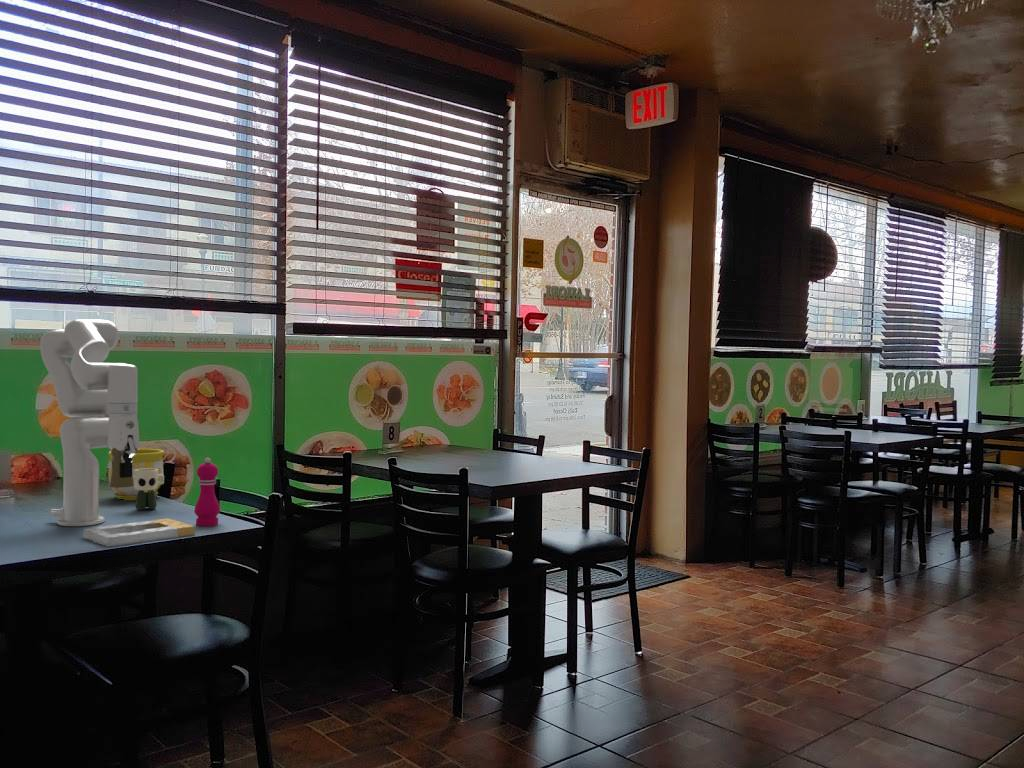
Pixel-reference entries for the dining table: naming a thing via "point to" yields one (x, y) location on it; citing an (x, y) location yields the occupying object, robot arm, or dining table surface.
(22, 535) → the dining table surface
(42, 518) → the dining table surface
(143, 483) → the character mug
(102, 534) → the white and tan tray
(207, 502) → the pepper mill
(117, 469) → the brown shaker
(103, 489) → the dining table surface
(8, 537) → the dining table surface
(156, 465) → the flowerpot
